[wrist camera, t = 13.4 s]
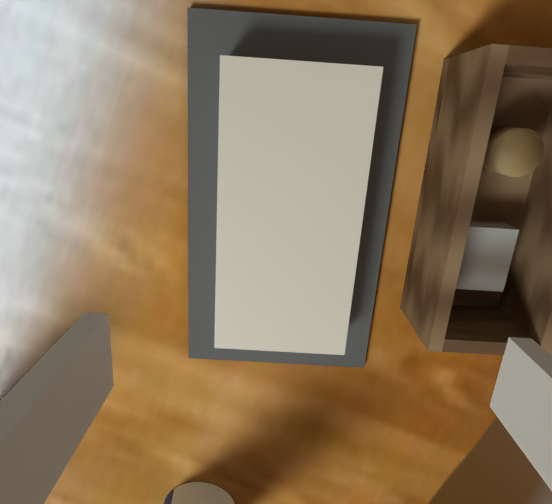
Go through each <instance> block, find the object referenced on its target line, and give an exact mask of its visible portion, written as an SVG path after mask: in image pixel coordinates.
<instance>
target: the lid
mask: <svg viewBox="0 0 552 504" xmlns="http://www.w3.org/2000/svg"><path fill="white" fill-rule="evenodd" d="M382 74H383V67H381V66H367V65H352V64H338V63H324V62H310V61H296V60H282V59H268V58H254V57H240V56H226V55H220V78H219V129H218V181H217V233H216V284H215V336H214V348H224V349H242V350H260V351H278V352H296V353H314V354H332V355H345V347H346V340H347V333H348V325H349V318H350V310H351V303H352V296H353V288H354V281H355V273H356V266H357V259H358V251H359V244H360V236H361V229H362V222H363V214H364V207H365V199H366V192H367V185H368V177H369V170H370V162H371V155H372V148H373V140H374V133H375V125H376V118H377V111H378V103H379V96H380V88H381V81H382Z"/></svg>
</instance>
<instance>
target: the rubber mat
mask: <svg viewBox="0 0 552 504" xmlns="http://www.w3.org/2000/svg"><path fill="white" fill-rule="evenodd" d="M416 28H417V24H406V23H392V22H378V21H365V20H351V19H337V18H324V17H310V16H297V15H283V14H269V13H256V12H242V11H229V10H215V9H201V8H188V280H189V358H198V359H216V360H235V361H253V362H271V363H289V364H308V365H326V366H344V367H362V368H364V365H365V359H366V352H367V346H368V339H369V333H370V326H371V320H372V313H373V307H374V300H375V294H376V287H377V281H378V274H379V268H380V261H381V255H382V249H383V242H384V236H385V229H386V223H387V216H388V210H389V203H390V197H391V190H392V184H393V177H394V171H395V164H396V158H397V151H398V145H399V138H400V132H401V125H402V119H403V112H404V106H405V99H406V93H407V87H408V80H409V74H410V67H411V61H412V54H413V48H414V41H415V35H416ZM220 55H226V56H240V57H254V58H268V59H282V60H296V61H310V62H324V63H338V64H352V65H367V66H381V67H383V74H382V81H381V88H380V96H379V103H378V111H377V118H376V125H375V133H374V140H373V148H372V155H371V162H370V170H369V177H368V185H367V192H366V199H365V207H364V214H363V222H362V229H361V236H360V244H359V251H358V259H357V266H356V273H355V281H354V288H353V296H352V303H351V310H350V318H349V325H348V333H347V340H346V347H345V355H332V354H314V353H296V352H278V351H260V350H242V349H224V348H214V336H215V284H216V233H217V181H218V129H219V78H220Z"/></svg>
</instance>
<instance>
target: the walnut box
mask: <svg viewBox="0 0 552 504" xmlns="http://www.w3.org/2000/svg"><path fill="white" fill-rule="evenodd" d="M400 308H401V310H402V311H403V313H404V314H405V316H406V317H407V319H408V320H409V322H410V324H411V325H412V327H413V328H414V330H415V331H416V333H417V334H418V336H419V338H420V339H421V341H422V342H423V344H424V345H425V347H426V348H427V350H428V351H441V352H459V353H477V354H495V355H504V352H505V349H506V345H507V342H508V338H509V337H517V338H532V339H533V340H534V341H535V342H536V343H537V344H539V345H540V346H541V347H542V348H543V349H544V350H545V351H547V352H548V353H549V354H550V355H551V356H552V48H545V47H531V46H518V45H504V44H489V45H486V46H483V47H480V48H477V49H474V50H471V51H468V52H465V53H461V54H458V55H455V56H452V57H449V58H446V59H444V63H443V68H442V74H441V80H440V85H439V91H438V97H437V102H436V108H435V113H434V119H433V125H432V130H431V136H430V142H429V147H428V153H427V159H426V164H425V170H424V176H423V181H422V187H421V193H420V198H419V204H418V209H417V215H416V221H415V226H414V232H413V238H412V243H411V249H410V255H409V260H408V266H407V272H406V277H405V283H404V289H403V294H402V300H401V305H400Z"/></svg>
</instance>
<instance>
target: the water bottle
mask: <svg viewBox="0 0 552 504" xmlns="http://www.w3.org/2000/svg"><path fill="white" fill-rule="evenodd" d="M164 504H235V503H234V501H233V499H232V497H231V496H230V495H229V494H228V493H227V492H226V491H225V490H223V489H222V488H220V487H218V486H216V485H213V484H210V483H205V482H190V483H186V484H182V485H180V486H178V487H176V488H175V489H173V490H172V491H171V492H170V493H169V494H168V495H167V497H166V499H165V502H164Z"/></svg>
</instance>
